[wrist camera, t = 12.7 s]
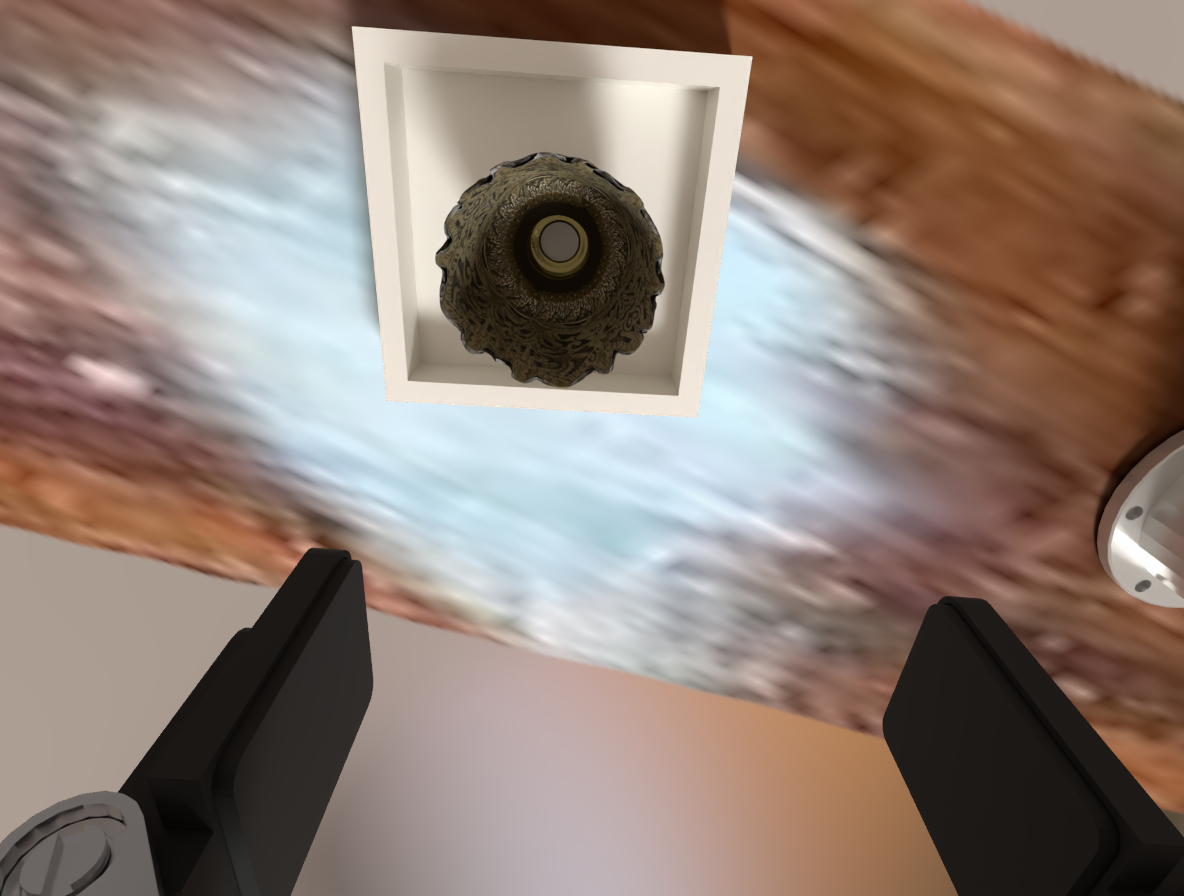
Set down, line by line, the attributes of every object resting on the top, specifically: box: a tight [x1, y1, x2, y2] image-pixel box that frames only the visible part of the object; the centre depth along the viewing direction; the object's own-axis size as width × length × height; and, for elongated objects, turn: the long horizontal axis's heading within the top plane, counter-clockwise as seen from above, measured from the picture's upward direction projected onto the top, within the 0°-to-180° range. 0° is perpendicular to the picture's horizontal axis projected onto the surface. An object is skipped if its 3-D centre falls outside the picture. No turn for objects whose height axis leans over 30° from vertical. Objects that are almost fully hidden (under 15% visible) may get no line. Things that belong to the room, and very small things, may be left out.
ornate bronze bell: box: [435, 152, 665, 388], centre depth 24 cm, size 8×7×8 cm
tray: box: [352, 26, 752, 418], centre depth 26 cm, size 14×14×3 cm
